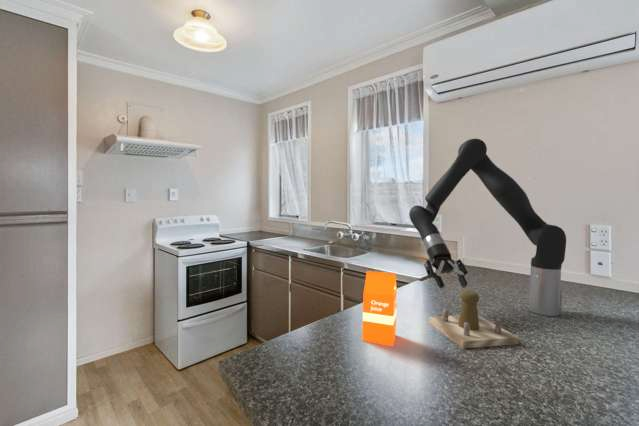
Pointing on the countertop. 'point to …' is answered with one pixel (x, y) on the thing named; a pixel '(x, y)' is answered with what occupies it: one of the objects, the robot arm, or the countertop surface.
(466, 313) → the cork
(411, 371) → the countertop surface
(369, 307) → the orange juice
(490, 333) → the peg board
